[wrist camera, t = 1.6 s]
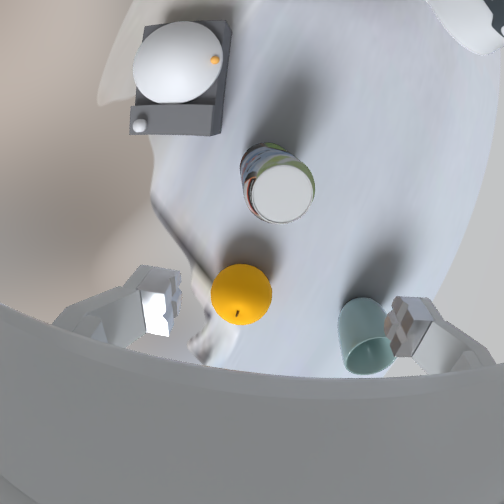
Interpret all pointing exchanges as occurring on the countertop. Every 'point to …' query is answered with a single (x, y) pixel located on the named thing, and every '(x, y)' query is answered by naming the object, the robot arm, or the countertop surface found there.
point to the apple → (241, 294)
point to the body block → (181, 78)
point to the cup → (364, 337)
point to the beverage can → (276, 184)
